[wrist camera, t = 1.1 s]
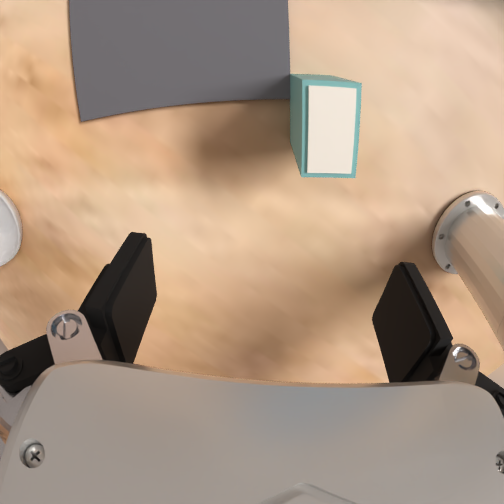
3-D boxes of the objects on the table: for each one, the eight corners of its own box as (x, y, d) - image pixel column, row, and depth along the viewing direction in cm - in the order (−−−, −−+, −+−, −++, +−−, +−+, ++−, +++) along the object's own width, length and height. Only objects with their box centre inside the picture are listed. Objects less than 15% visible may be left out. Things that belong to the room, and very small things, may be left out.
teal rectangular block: (331, 75, 26) (362, 83, 17) (329, 142, 30) (355, 179, 21) (289, 73, 26) (302, 79, 18) (290, 141, 30) (301, 178, 22)
